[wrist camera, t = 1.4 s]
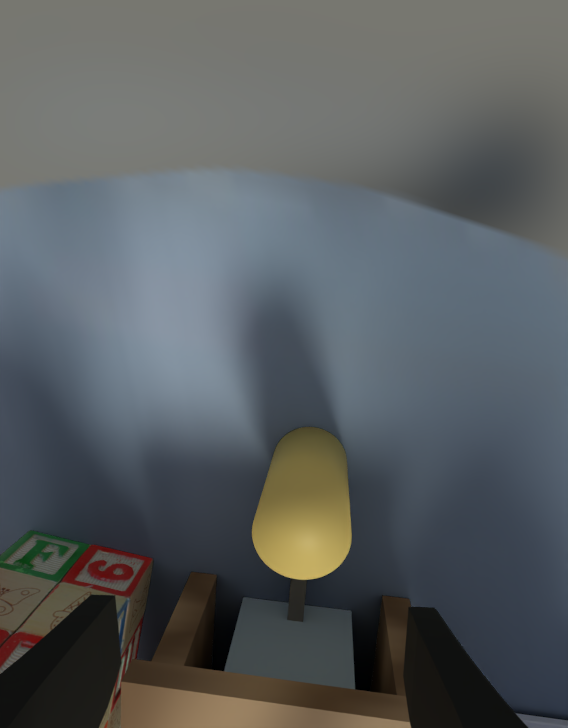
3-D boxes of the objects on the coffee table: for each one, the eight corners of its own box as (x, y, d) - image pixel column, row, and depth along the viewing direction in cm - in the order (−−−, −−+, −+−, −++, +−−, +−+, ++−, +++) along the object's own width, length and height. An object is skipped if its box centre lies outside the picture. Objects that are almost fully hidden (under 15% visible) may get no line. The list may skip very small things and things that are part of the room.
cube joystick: (371, 433, 22) (385, 497, 16) (340, 702, 25) (343, 839, 19) (254, 421, 22) (227, 480, 17) (237, 687, 25) (208, 818, 19)
